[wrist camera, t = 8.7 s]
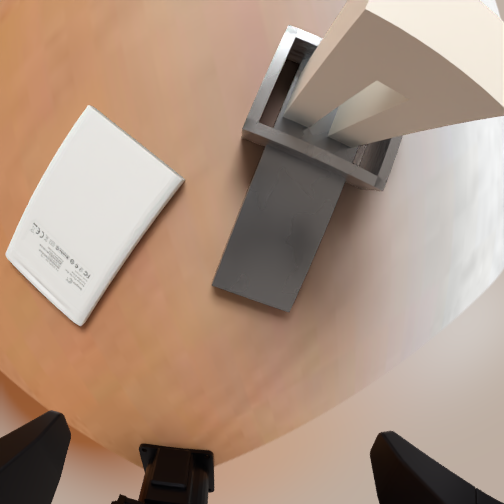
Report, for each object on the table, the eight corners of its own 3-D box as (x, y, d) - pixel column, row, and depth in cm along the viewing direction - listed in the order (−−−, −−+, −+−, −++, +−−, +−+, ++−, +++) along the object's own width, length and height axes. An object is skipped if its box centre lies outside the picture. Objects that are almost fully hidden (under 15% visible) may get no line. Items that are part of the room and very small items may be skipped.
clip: (351, 147, 17) (511, 114, 5) (282, 116, 17) (365, 8, 5) (367, 105, 17) (517, 34, 5) (300, 73, 16) (390, -60, 4)
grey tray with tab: (306, 312, 21) (318, 335, 17) (190, 270, 20) (181, 288, 17) (394, 92, 18) (419, 80, 15) (284, 39, 17) (292, 15, 14)
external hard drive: (187, 179, 19) (88, 319, 21) (97, 108, 18) (14, 250, 19) (182, 179, 18) (79, 329, 19) (87, 103, 16) (2, 255, 18)
